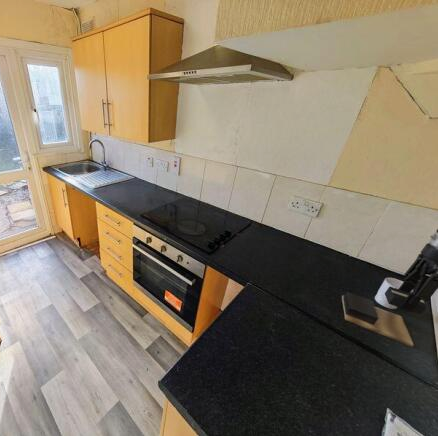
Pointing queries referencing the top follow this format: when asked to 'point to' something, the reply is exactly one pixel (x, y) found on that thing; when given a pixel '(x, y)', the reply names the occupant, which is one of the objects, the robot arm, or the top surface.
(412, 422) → the top surface
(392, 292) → the loose pad
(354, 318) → the mount board
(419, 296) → the robot arm
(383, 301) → the white cup
